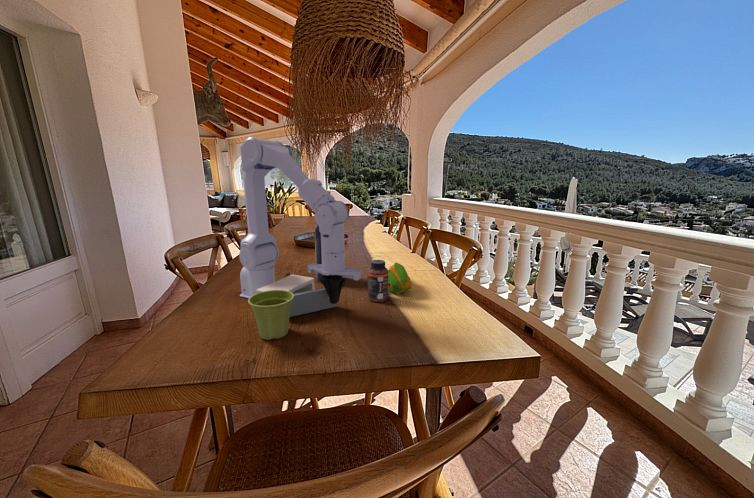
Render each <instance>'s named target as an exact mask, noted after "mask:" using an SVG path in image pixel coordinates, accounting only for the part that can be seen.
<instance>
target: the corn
mask: <svg viewBox="0 0 754 498" xmlns="http://www.w3.org/2000/svg"><path fill="white" fill-rule="evenodd" d="M411 280H412V279H411V278H410V276H409V273H408V272H407V270H406V268H405V266H403V264H401V263H398V262H395V263H393V264H392V265H390V266H389V268H388V291H390V292H392V293H393V294H400V293H401V294H405V293H407V292H409V290H410V289H411V285H412V281H411Z"/></svg>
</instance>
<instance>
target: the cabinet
mask: <svg viewBox="0 0 754 498" xmlns="http://www.w3.org/2000/svg"><path fill="white" fill-rule="evenodd" d="M269 290H286V291H289V292H292V293H293V294H296V293H302V292H307V291H312V290H316V287H315V278H314V277H311V276H310V277H309V276H302V275H297V274H290V275H287V276H285V277H283V278H280V279H278V280H275V282H273V283H271V284H268V285H266V286H264V287H261V288H259V289H257V290H256V294H257V293H260V292H263V291H269Z"/></svg>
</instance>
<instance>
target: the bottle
mask: <svg viewBox="0 0 754 498" xmlns="http://www.w3.org/2000/svg"><path fill="white" fill-rule="evenodd" d="M326 191H327V192H328V193H329V194H330V195H332V194H331V190H326ZM314 244H315V245H314V246H315V247H314V248H315V264H322V255H321V233H320V232H319V225H318V224H316V226H315V227H314ZM321 277H323V275H322V274H320V273H316V283H318V284H322V282H321V281H320V278H321ZM322 285H323V284H322Z"/></svg>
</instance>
